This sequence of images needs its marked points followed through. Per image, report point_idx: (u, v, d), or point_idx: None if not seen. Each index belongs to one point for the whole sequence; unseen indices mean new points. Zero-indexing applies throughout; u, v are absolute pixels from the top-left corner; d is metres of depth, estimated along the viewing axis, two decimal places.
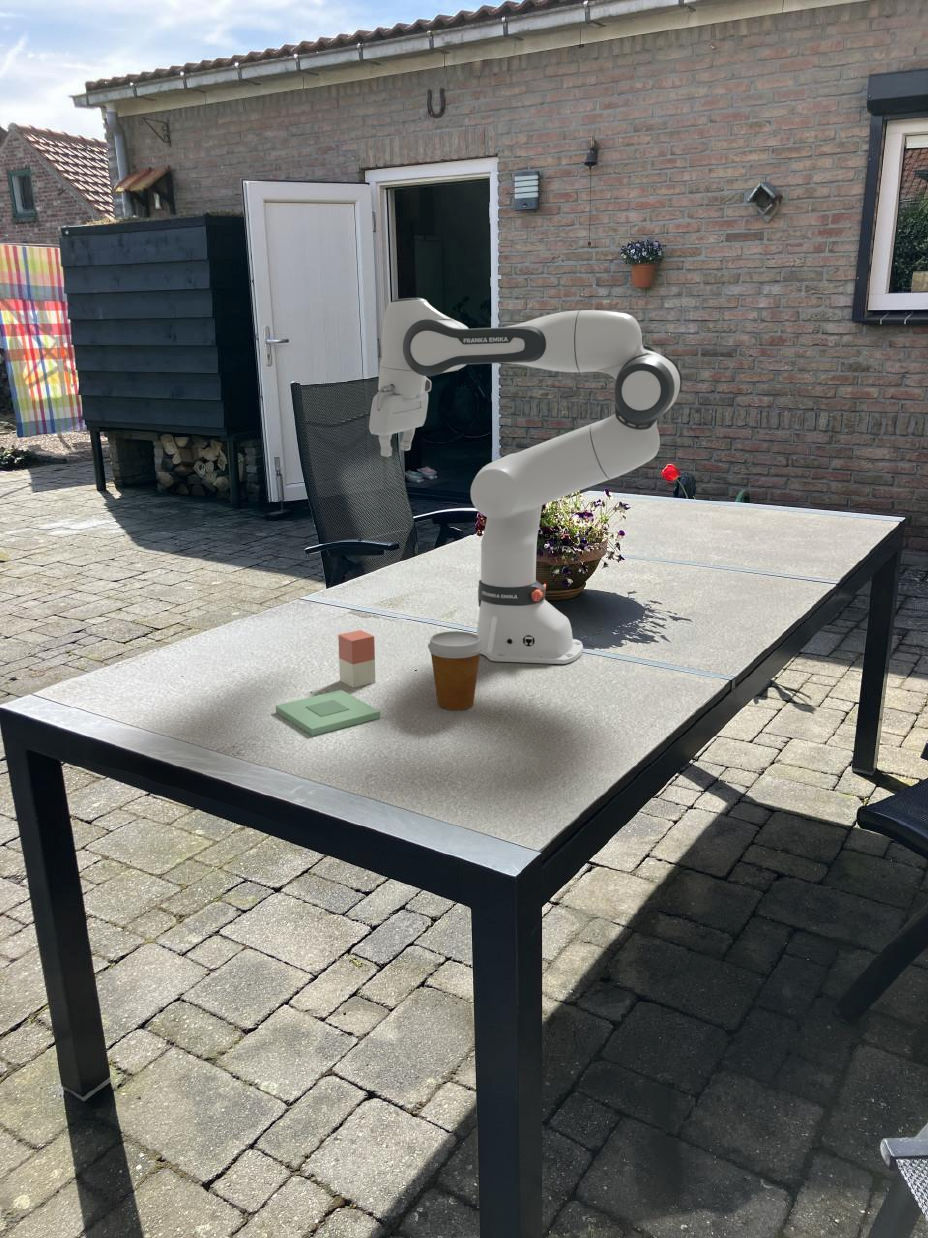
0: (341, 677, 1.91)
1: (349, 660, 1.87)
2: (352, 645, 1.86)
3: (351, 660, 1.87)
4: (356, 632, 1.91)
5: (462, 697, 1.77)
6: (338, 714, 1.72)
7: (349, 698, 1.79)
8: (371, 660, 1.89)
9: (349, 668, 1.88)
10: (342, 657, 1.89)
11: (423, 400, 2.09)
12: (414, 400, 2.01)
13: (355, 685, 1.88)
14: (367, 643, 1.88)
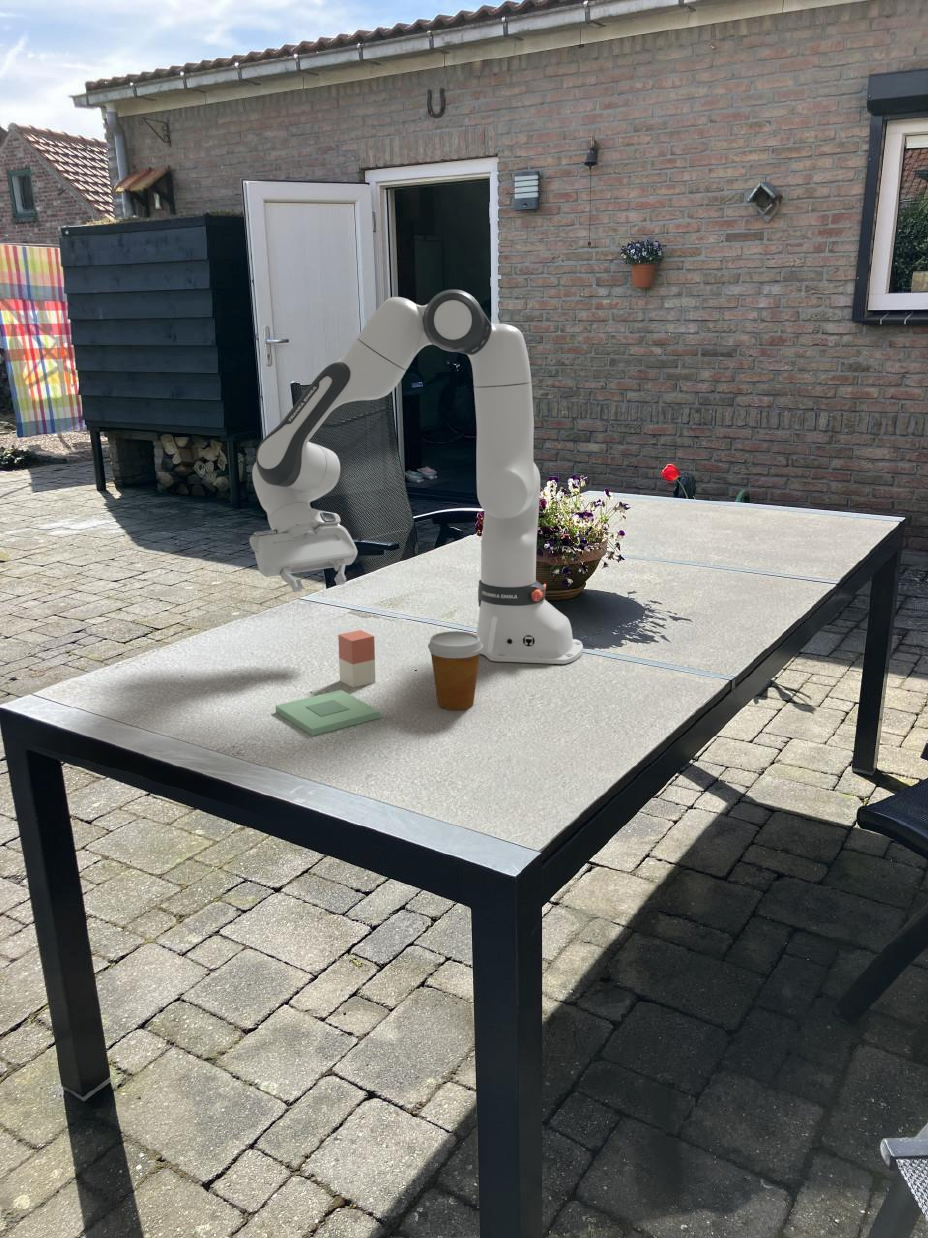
0: (341, 677, 1.91)
1: (349, 660, 1.87)
2: (352, 645, 1.86)
3: (351, 660, 1.87)
4: (356, 632, 1.91)
5: (462, 697, 1.77)
6: (338, 714, 1.72)
7: (349, 698, 1.79)
8: (371, 660, 1.89)
9: (349, 668, 1.88)
10: (342, 657, 1.89)
11: (339, 533, 2.03)
12: (305, 531, 1.98)
13: (355, 685, 1.88)
14: (367, 643, 1.88)
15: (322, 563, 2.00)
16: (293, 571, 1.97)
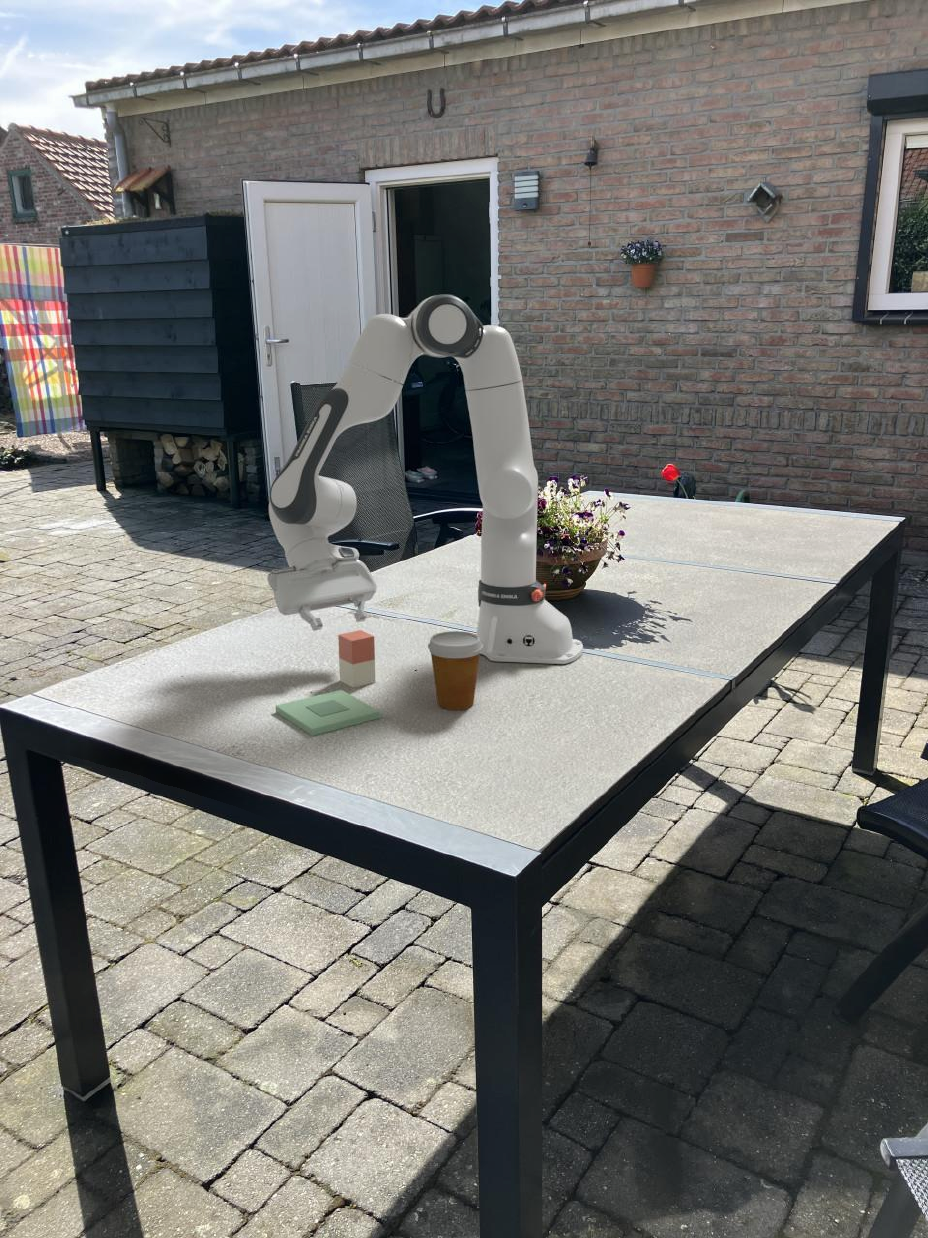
0: (341, 677, 1.91)
1: (349, 660, 1.87)
2: (352, 645, 1.86)
3: (351, 660, 1.87)
4: (356, 632, 1.91)
5: (462, 697, 1.77)
6: (338, 714, 1.72)
7: (349, 698, 1.79)
8: (371, 660, 1.89)
9: (349, 668, 1.88)
10: (342, 657, 1.89)
11: (358, 569, 1.99)
12: (324, 567, 1.94)
13: (355, 685, 1.88)
14: (367, 643, 1.88)
15: (341, 599, 1.97)
16: (312, 609, 1.93)
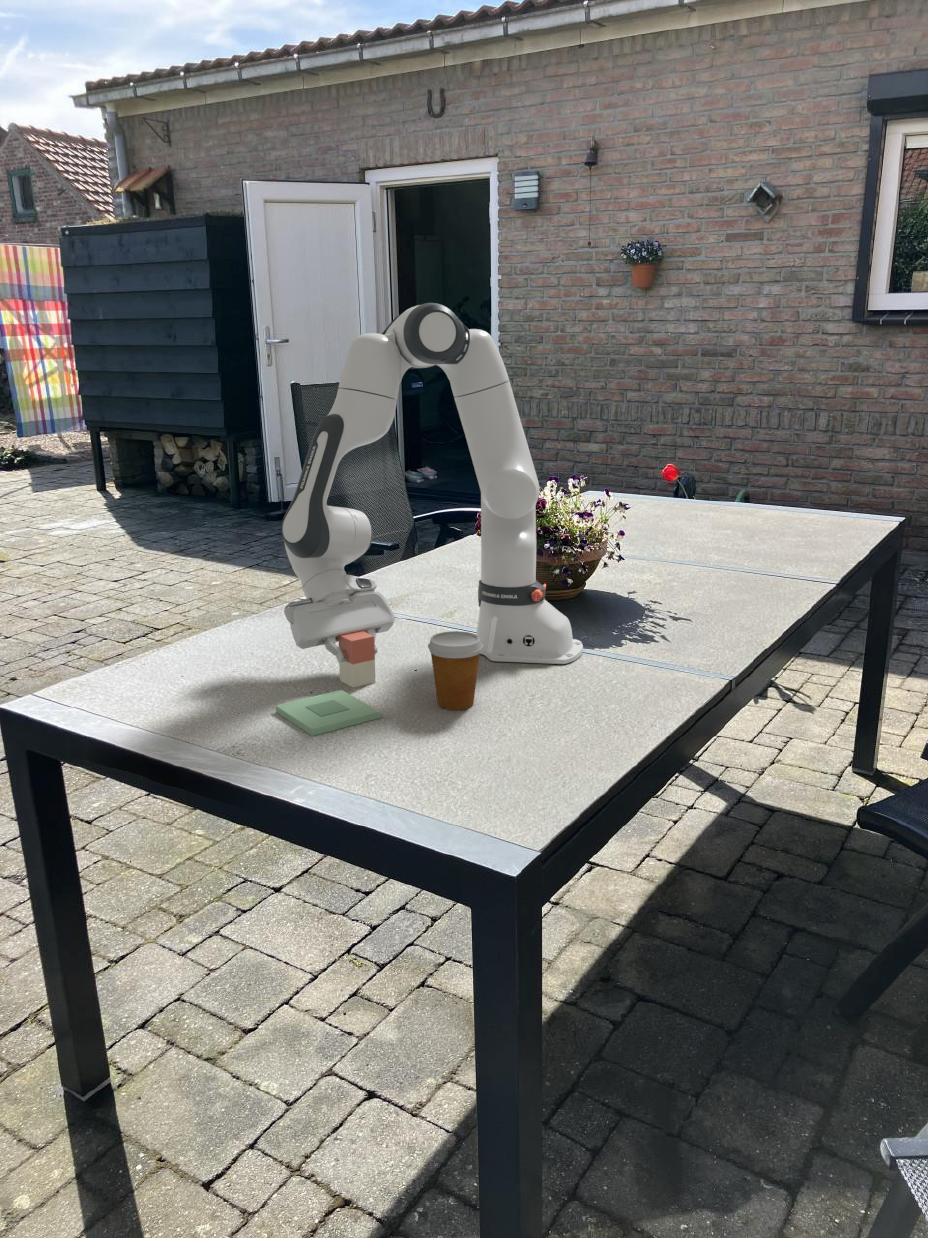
0: (341, 677, 1.91)
1: (349, 660, 1.87)
2: (352, 645, 1.86)
3: (351, 660, 1.87)
4: (356, 632, 1.91)
5: (462, 697, 1.77)
6: (338, 714, 1.72)
7: (349, 698, 1.79)
8: (371, 660, 1.89)
9: (349, 668, 1.88)
10: None
11: (376, 600, 1.96)
12: (341, 599, 1.91)
13: (355, 685, 1.88)
14: (367, 643, 1.88)
15: None
16: None
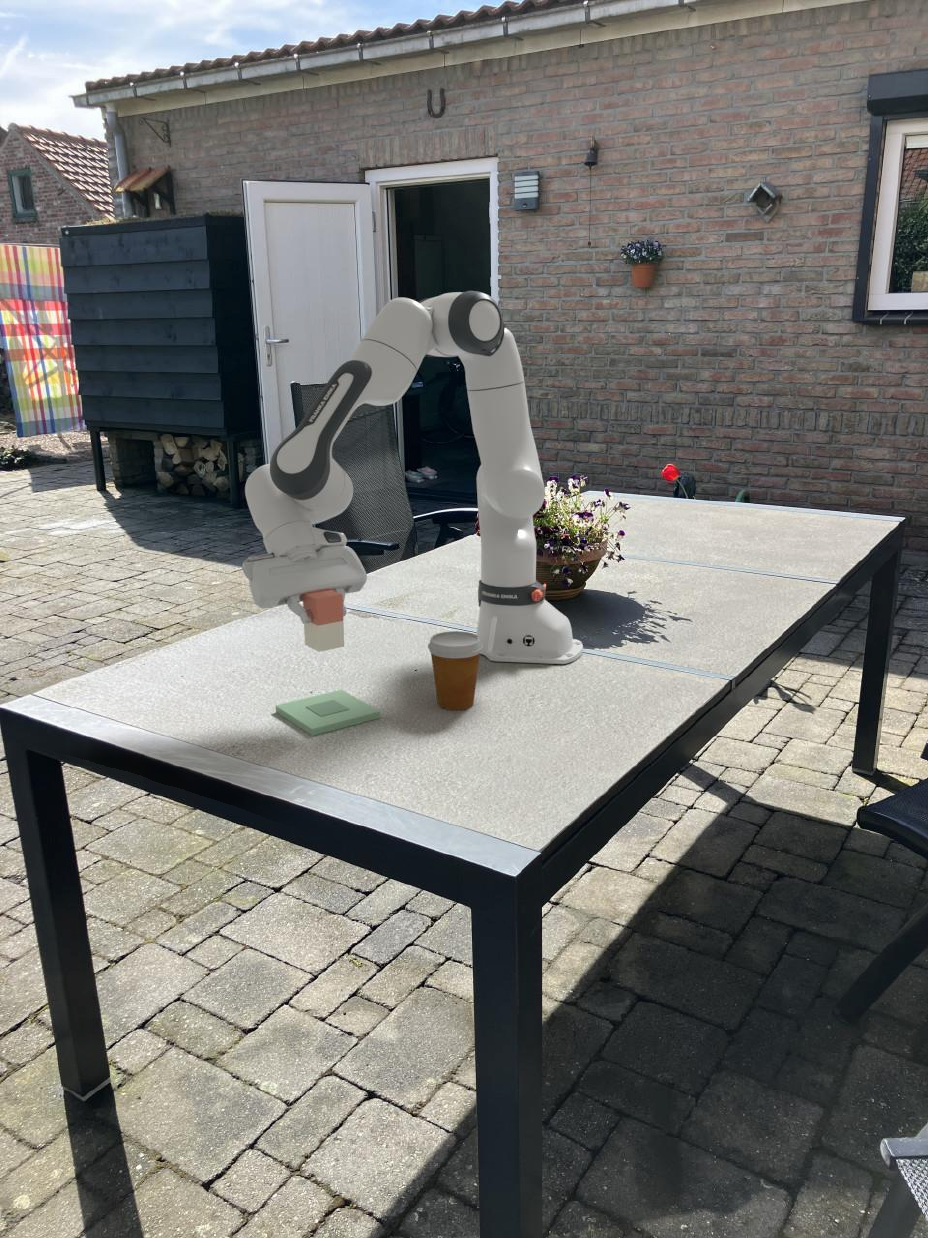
0: (306, 641, 1.71)
1: (314, 621, 1.68)
2: (317, 604, 1.66)
3: (316, 621, 1.67)
4: (323, 590, 1.71)
5: (462, 697, 1.77)
6: (338, 714, 1.72)
7: (349, 698, 1.79)
8: (339, 621, 1.69)
9: (315, 630, 1.68)
10: None
11: (346, 556, 1.76)
12: (307, 554, 1.71)
13: (321, 649, 1.69)
14: (335, 602, 1.68)
15: None
16: None
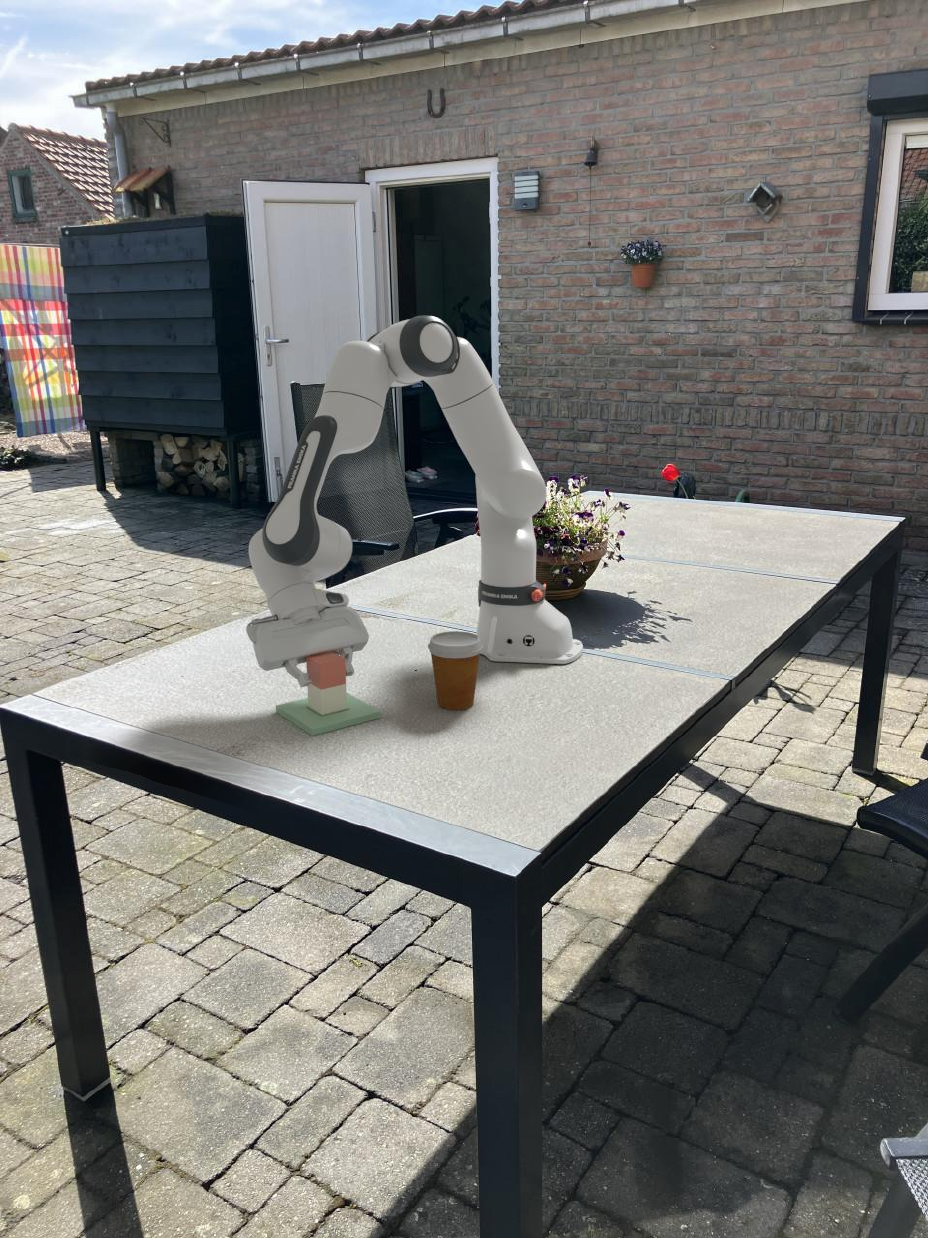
0: (309, 703, 1.75)
1: (318, 685, 1.71)
2: (320, 669, 1.69)
3: (320, 685, 1.70)
4: (326, 653, 1.74)
5: (462, 697, 1.77)
6: (338, 714, 1.72)
7: (349, 698, 1.79)
8: (342, 684, 1.73)
9: (318, 694, 1.71)
10: None
11: (348, 616, 1.79)
12: (310, 616, 1.74)
13: (324, 712, 1.72)
14: (338, 666, 1.71)
15: (329, 651, 1.77)
16: (297, 662, 1.73)
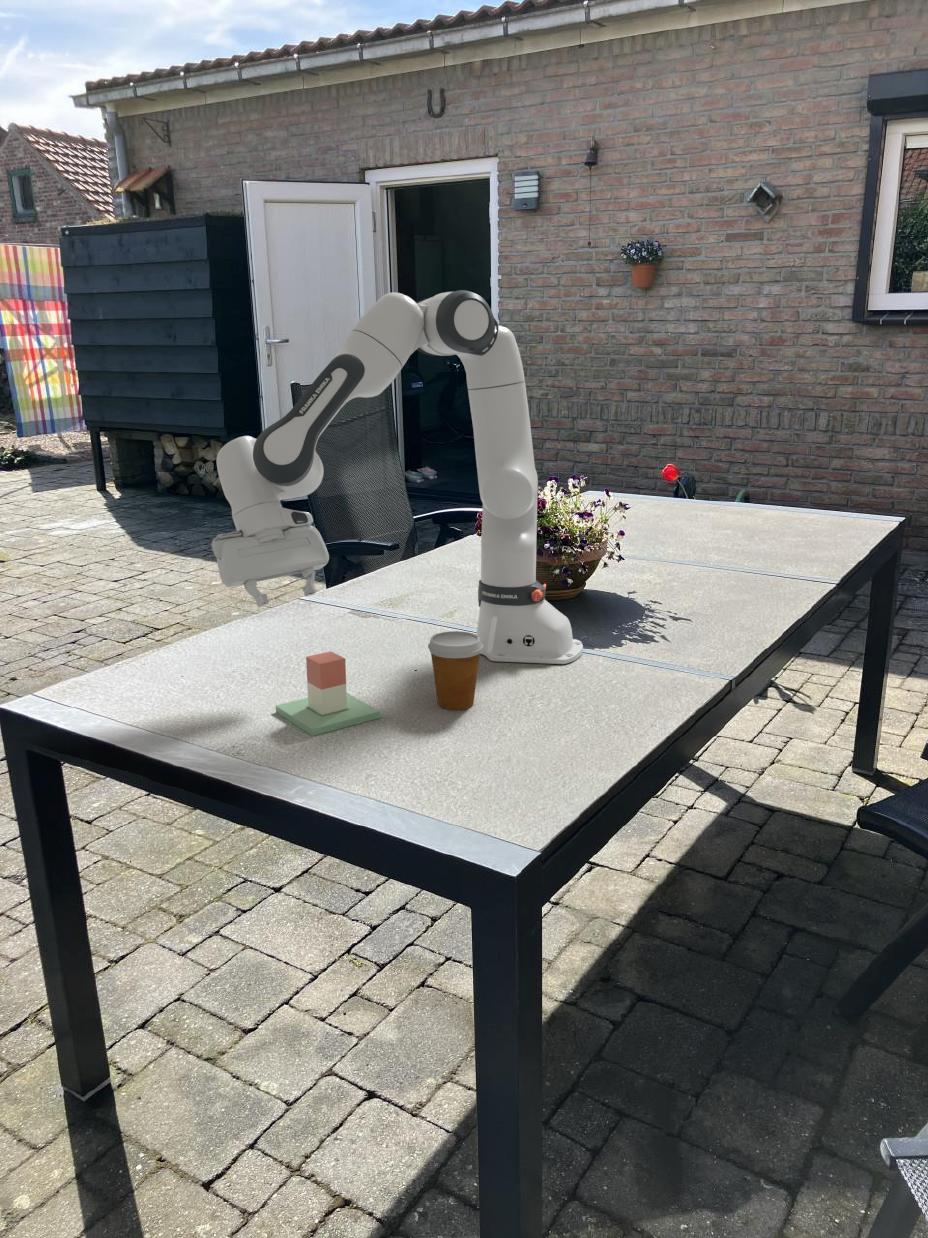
0: (309, 703, 1.75)
1: (318, 685, 1.71)
2: (320, 669, 1.69)
3: (320, 685, 1.70)
4: (326, 653, 1.74)
5: (462, 697, 1.77)
6: (338, 714, 1.72)
7: (349, 698, 1.79)
8: (342, 684, 1.73)
9: (318, 694, 1.71)
10: (310, 681, 1.73)
11: (311, 536, 1.83)
12: (275, 536, 1.78)
13: (324, 712, 1.72)
14: (338, 666, 1.71)
15: None
16: (258, 580, 1.78)
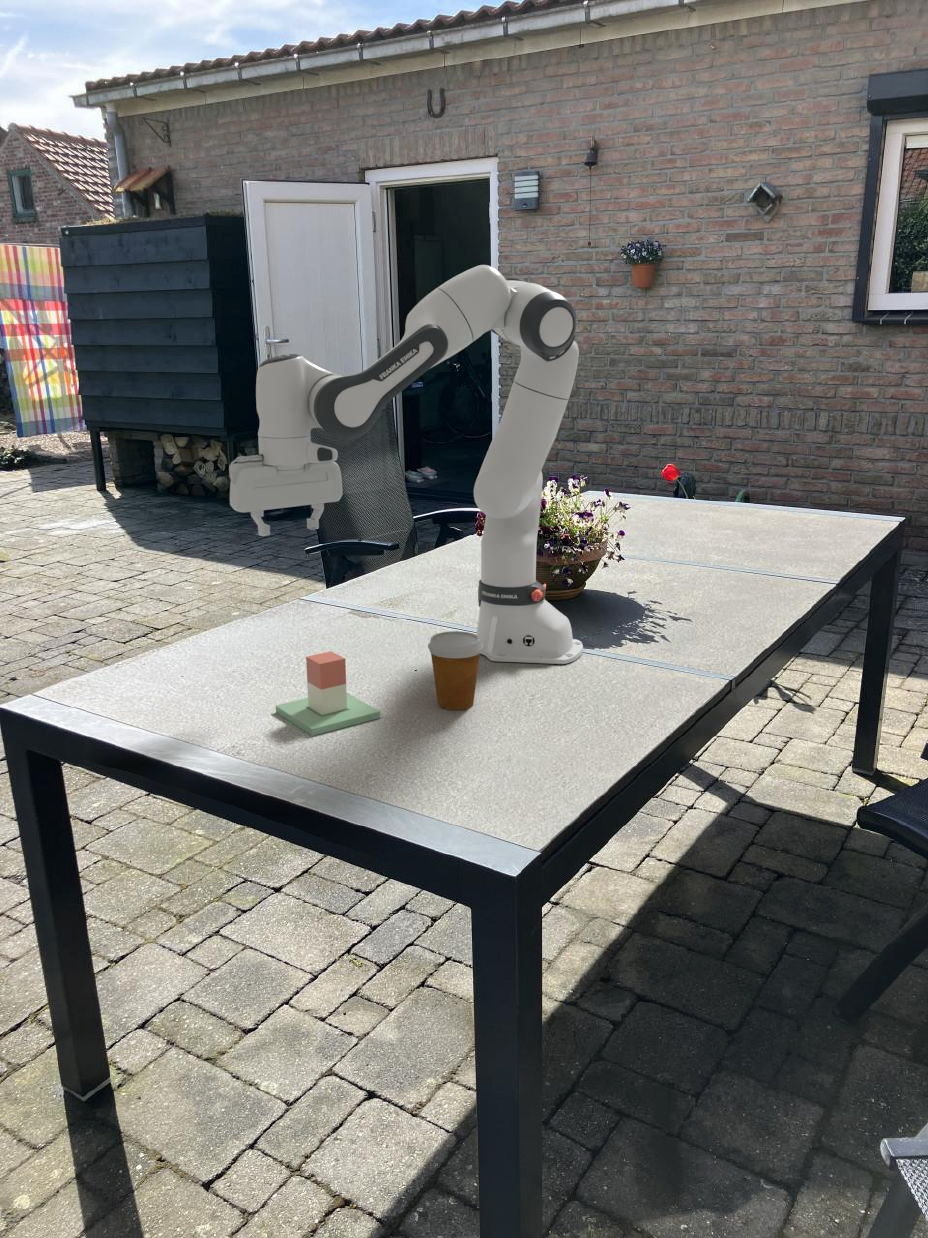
0: (309, 703, 1.75)
1: (318, 685, 1.71)
2: (320, 669, 1.69)
3: (320, 685, 1.70)
4: (326, 653, 1.74)
5: (462, 697, 1.77)
6: (338, 714, 1.72)
7: (349, 698, 1.79)
8: (342, 684, 1.73)
9: (318, 694, 1.71)
10: (310, 681, 1.73)
11: (330, 472, 1.79)
12: (294, 472, 1.74)
13: (324, 712, 1.72)
14: (338, 666, 1.71)
15: None
16: None
